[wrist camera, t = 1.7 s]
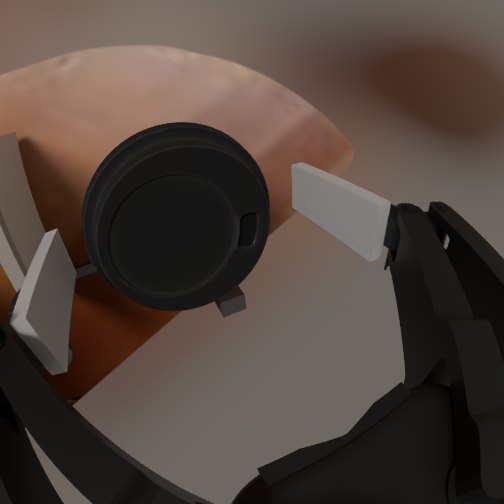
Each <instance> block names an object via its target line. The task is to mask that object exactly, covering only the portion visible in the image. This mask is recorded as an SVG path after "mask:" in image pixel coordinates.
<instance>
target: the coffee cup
mask: <svg viewBox="0 0 504 504" xmlns="http://www.w3.org/2000/svg"><path fill="white" fill-rule="evenodd" d="M269 224H270V214H269V195H268V189H267V185H266V182H265V179H264V176H263V174H262V172H261V170H260V168H259V166H258V165H257V163H256V161H255V160H254V159H253V157H252V156H251V155H250V154H249V153H248V152H247V151H246V150H245V149H244V148H243V147H242V146H241V145H240V144H239V143H238V142H237V141H236V140H234V139H233V138H231V137H230V136H229V135H227V134H225V133H223V132H221V131H219V130H217V129H215V128H212V127H209V126H206V125H201V124H196V123H187V122H176V123H167V124H162V125H157V126H154V127H151V128H148V129H145V130H143V131H141V132H138V133H136V134H135V135H133V136H131V137H129V138H128V139H126V140H125V141H123V142H122V143H121V144H119V145H118V146H117V147H116V148H115V149H113V150H112V152H111V153H110V154H109V155H108V156H107V157H106V158H105V159H104V160H103V162H102V163H101V164H100V166H99V167H98V169H97V170H96V172H95V173H94V175H93V177H92V179H91V181H90V184H89V186H88V188H87V192H86V195H85V198H84V204H83V210H82V228H83V235H84V240H85V244H86V248H87V251H88V254H89V257H90V259H91V261H92V263H93V265H94V267H95V268H96V270H97V271H98V273H99V274H100V275H101V277H102V278H103V279H104V280H105V281H106V282H107V283H108V284H109V285H110V286H111V287H112V288H114V289H115V290H116V291H118V292H119V293H121V294H123V295H124V296H126V297H127V298H129V299H130V300H132V301H134V302H136V303H138V304H140V305H142V306H145V307H148V308H152V309H156V310H163V311H183V310H189V309H194V308H198V307H201V306H204V305H207V304H209V303H212V302H214V301H216V300H218V299H220V298H221V297H223V296H225V295H226V294H228V293H229V292H231V291H232V290H233V289H234V288H236V287H237V286H238V285H239V284H240V283H241V282H242V281H243V280H244V279H245V278H246V277H247V276H248V274H249V273H250V272H251V271H252V269H253V268H254V266H255V265H256V263H257V262H258V260H259V258H260V256H261V254H262V252H263V249H264V247H265V244H266V241H267V237H268V232H269Z"/></svg>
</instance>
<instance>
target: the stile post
mask: <svg viewBox="0 0 504 504" xmlns="http://www.w3.org/2000/svg"><path fill="white" fill-rule="evenodd" d="M215 303H216V305H217V307H218V308H219V310H220V312H221V314H222V315H223V317H226V316H228V315H231V314H233V313H236V312H238V311H241V310H244V309H246V303H245V296H244V293H243V292H242V290H241V289H240V288H239V286H237V287H236V288H234V289H233V290H232V291H231V292H229V293H228V294H226V295H225V296H223V297H221V298H220V299H218V300H216V301H215Z"/></svg>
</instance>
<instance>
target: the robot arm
mask: <svg viewBox="0 0 504 504" xmlns="http://www.w3.org/2000/svg"><path fill="white" fill-rule="evenodd" d="M292 208H294V209H295V210H297V211H298V212H300V213H301V214H303V215H304V216H306V217H308V218H309V219H310V220H312V221H313V222H315V223H316V224H318V225H319V226H320V227H322V228H324V229H325V230H326V231H328V232H329V233H331V234H332V235H333V236H335V237H336V238H338V239H339V240H341V241H342V242H343V243H345V244H346V245H347V246H349V247H350V248H352V249H353V250H354V251H356V252H357V253H359V254H360V255H361V256H363V257H364V258H365V259H367V260H368V261H370V262H371V261H373V260H375V259H378V258H380V257H381V254H382V250H383V245H384V246H386V247H387V248H389V250H388V254H387V259H386V263H385V267H384V270H386V269H387V267H388V266H390V271H391V275H392V280H393V285H394V290H395V295H396V301H397V307H398V314H399V320H400V327H401V334H402V343H403V352H404V362H405V380H404V384H403V383H402V382H401V383H399V384H398V385H397V386H396V387H394V388H393V389H392V390H391V391H389V392H388V393H387V394H385V395H384V396H383V397H381V398H380V399H379V400H378V401H376V402H375V403H373V405H372V406H371V407H370V408H369V410H368V411H367V412H366V413H365V414H364V415H363V417H362V418H361V419H360V420H359V421H358V422H357V423H356V424H355V426H354V427H353V428H352V429H351V430H350V431H349V432H348V433H347V434H345V435H344V436H341V437H338V438H335V439H332V440H329V441H326V442H322V443H319V444H316V445H312V446H308V447H305V448H301V449H298V450H296V451H294V452H292V453H290V454H288V455H286V456H284V457H282V458H280V459H278V460H276V461H273V462H271V463H269V464H266V465H264V466H262V467H260V468H257V469H258V472H259V475H258V476H257V477H255V478H254V479H253V480H251V481H250V482H249V483H248V484H247V485H246V486H245V487H244V488H243V489H242V490H241V491H240V492H239V493H238V494H237V496H236V497H235V499H234V500H233V502H232V504H504V259H503V258H502V257H501V256H500V255H499V254H498V252H497V251H496V250H495V249H494V248H493V247H492V246H491V245H490V244H489V243H488V242H487V241H486V240H485V239H484V238H483V237H482V236H481V235H480V234H479V233H478V232H477V231H476V230H475V229H474V228H473V227H472V226H471V225H470V224H469V223H468V222H466V221H465V220H464V219H463V218H462V217H461V216H460V215H459V214H458V213H457V212H455V211H454V210H453V209H452V208H451V207H449V206H448V205H446V204H445V203H442V202H431V203H430V205H429V210H428V212H423V211H422V210H421V209H420V208H419V207H417V206H415V205H413V204H409V203H401V204H398V205H397V207H396V206H394V205H392V204H391V202H389V201H387V200H385V199H383V198H381V197H379V196H377V195H375V194H373V193H371V192H369V191H367V190H365V189H363V188H361V187H359V186H356V185H354V184H352V183H350V182H347V181H345V180H343V179H341V178H339V177H336V176H334V175H332V174H329V173H327V172H325V171H322V170H320V169H317V168H315V167H312V166H310V165H307V164H305V163H297V164H292ZM447 235H448V236H449V239H450V241H449V244H448V247H447V249H445V248H444V243H445V240H446V236H447ZM76 274H77V272H76V270H75V268H74V266H73V264H72V261H71V259H70V257H69V255H68V252H67V250H66V248H65V245H64V243H63V241H62V238H61V236H60V233H59V231H58V228H57V229H54V230H52V231H49V232H47V233H45V235H44V237H43V239H42V241H41V243H40V245H39V247H38V250H37V252H36V254H35V256H34V258H33V261H32V263H31V265H30V268H29V270H28V272H27V275H26V277H25V280H24V283H23V285H22V288H21V289H19V291H18V292H17V294H16V295H15V296H14V298H13V301H12V304H11V307H10V309H9V312H8V313H9V314H8V316H7V319H6V322H5V325H4V327H3V326H2V324H1V323H0V504H64V503H63V502H62V501H61V499H60V497H59V495H58V494H57V492H56V491H55V489H54V487H53V486H52V484H51V482H50V480H49V479H48V477H47V475H46V473H45V471H44V469H43V467H42V465H41V463H40V461H39V459H38V457H37V455H36V453H35V451H34V449H33V447H32V444H31V442H30V440H29V437H28V435H27V432H26V430H25V427H26V428H27V430H28V431H29V433H30V434H31V435H32V437H33V438H34V440H35V441H36V442H37V443H38V445H39V446H40V448H41V449H42V450H43V451H44V452H45V454H46V455H47V456H48V457H49V459H50V460H51V461H52V462H53V463H54V465H55V466H56V467H57V468H58V469H59V470H60V471H61V473H62V474H63V475H64V476H65V477H66V478H67V479H68V480H69V481H70V482H71V483H72V484H73V485H74V486H75V487H76V488H77V489H78V490H79V491H80V492H81V493H82V494H83V495H84V496H85V497H86V498H87V499H88V500H89V501H90V502H91V503H92V504H213V503H211V502H209V501H207V500H205V499H202V498H200V497H198V496H196V495H194V494H191V493H190V492H188V491H186V490H184V489H182V488H180V487H178V486H176V485H175V484H173V483H171V482H169V481H168V480H166V479H165V478H163V477H161V476H160V475H158V474H156V473H155V472H153V471H152V470H150V469H149V468H147V467H146V466H144V465H143V464H141V463H140V462H138V461H137V460H136V459H134V458H133V457H131V456H130V455H129V454H127V453H126V452H125V451H123V450H122V449H120V448H119V447H118V446H117V445H116V444H114V443H113V442H112V441H111V440H109V439H108V438H107V437H106V436H104V435H103V434H102V433H101V432H100V431H99V430H97V429H96V428H95V427H94V426H93V425H92V424H90V423H89V422H88V421H87V420H86V419H85V418H84V417H83V416H82V415H81V414H80V413H79V412H78V411H77V410H76V409H75V408H74V407H73V406H72V405H71V404H70V403H69V402H68V401H67V400H66V399H65V398H64V397H63V396H62V395H61V394H60V393H59V392H58V391H57V390H56V389H55V387H54V386H53V385H52V384H51V383H50V382H49V381H48V380H47V379H46V377H45V376H44V375H43V366H44V367H45V368H46V369H47V370H48V372H49V373H50V374H51V375H56V374H60V373H64V372H67V370H68V343H69V329H70V318H71V309H72V301H73V293H74V287H75V280H76ZM23 424H24V425H23ZM24 426H25V427H24Z"/></svg>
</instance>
